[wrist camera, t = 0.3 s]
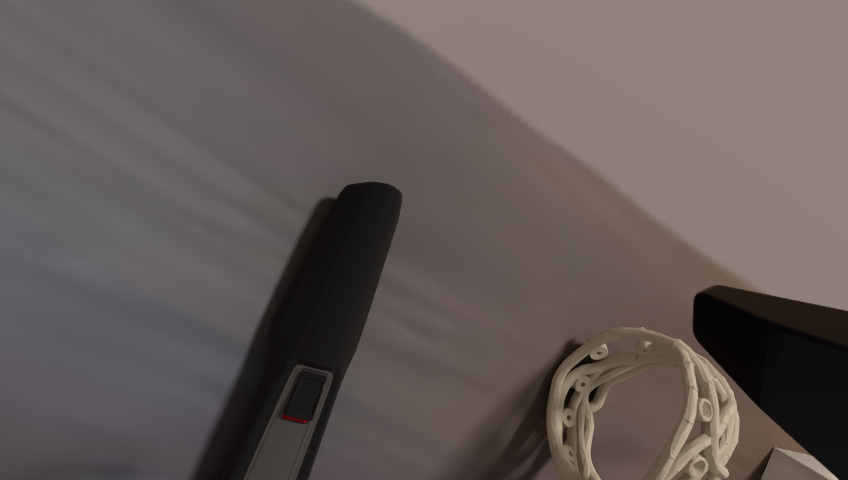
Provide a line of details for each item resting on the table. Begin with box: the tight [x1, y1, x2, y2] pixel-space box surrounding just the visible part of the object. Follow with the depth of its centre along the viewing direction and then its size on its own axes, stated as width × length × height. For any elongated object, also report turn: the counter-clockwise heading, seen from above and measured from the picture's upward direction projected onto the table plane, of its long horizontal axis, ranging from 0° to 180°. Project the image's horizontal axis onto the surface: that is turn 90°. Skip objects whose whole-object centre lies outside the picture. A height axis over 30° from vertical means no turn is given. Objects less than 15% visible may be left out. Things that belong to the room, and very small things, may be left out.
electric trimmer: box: [221, 182, 402, 480], centre depth 23 cm, size 4×16×3 cm, turn 156°
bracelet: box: [546, 327, 739, 480], centre depth 26 cm, size 4×8×8 cm, turn 145°
